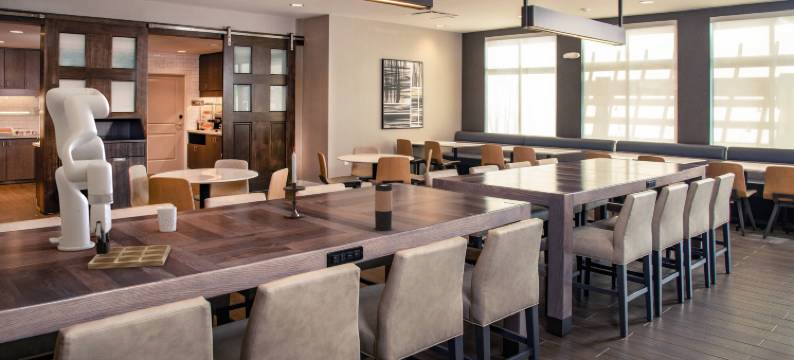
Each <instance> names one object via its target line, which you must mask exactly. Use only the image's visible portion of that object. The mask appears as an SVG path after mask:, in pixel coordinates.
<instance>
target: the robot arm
mask: <svg viewBox="0 0 794 360" xmlns="http://www.w3.org/2000/svg"><path fill="white" fill-rule="evenodd" d="M45 105H46V108H47V111H48V113H49V115H50V117H51V120H52V123H53V126H54V134H55V145H56V152H57V156H58V158H59V159H60V160H61V166H59V167H58V168H56V170H55V172H54V178H55V182H56V187H57V191H58V192H57V193H58V198H59V199H58V201H59V214H60V230H61V231H60V232H61V233H60V234H61V236H59V237H49V240H48V241H49V244H58V245H57V250H59V251H61V252H77V251H85V250H89V249H92V248H95V249H96V252H95V253H96V255H97V254H107V242H106V241H108V242H109V244H110V245H111V240H110V230H111V229H112V210H111V204H113V203H114V189H113V187H114V186H113V170H112V169H113V168H112V164H111V163H110V162H108V161H107V159H106V152H105V151H106V150H105V144H104V141H103V140H102V138H101V137H100V136H99V135H98V130H97V126H96V122H95V119H106V118H107V117H108V116H109V113H110V105H109V101H108V99H107V98H106V97H105V95H104V94H103V93H102V92H100V91H99V90H98V89H96V88H92V87H54V88H51V89H50V90H48V91H47V92H46V95H45ZM82 190H87V197H86V196H85V194H83V193H82V192H81V191H82ZM89 205H90V210H89ZM89 214H90V215H89ZM91 234H92V235H95V242H94V241H92V240H91Z"/></svg>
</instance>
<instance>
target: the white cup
mask: <svg viewBox="0 0 794 360" xmlns="http://www.w3.org/2000/svg"><path fill="white" fill-rule="evenodd" d="M177 210H178V209H177V206H174V205H167V206H166V205H165V206H159V207H157V208H156V211H157V222H158V230H159V232H160V233H172V232H175V231H176V230H177V218H178V216H177V215H178V214H177Z"/></svg>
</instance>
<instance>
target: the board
mask: <svg viewBox="0 0 794 360" xmlns="http://www.w3.org/2000/svg"><path fill="white" fill-rule="evenodd" d="M170 252H171V244H160V245H139V246H135V245H133V246H115V247H112V246H110V252H109V253H107V254H97V253H96V254H95V256H93V258H92V259H91V260H90V261H89V262H88V263H87V270H102V269H103V270H104V269H122V268H123V269H125V268H142V267H143V268H145V267H162V266H164V265H165V262H166V261H167V259H168V255H169V254H170Z"/></svg>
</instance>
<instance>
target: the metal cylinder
mask: <svg viewBox="0 0 794 360" xmlns="http://www.w3.org/2000/svg"><path fill="white" fill-rule="evenodd" d="M106 242H107V253H109V252H110V247H111V243H110V244H109V242H108V241H106Z"/></svg>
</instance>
